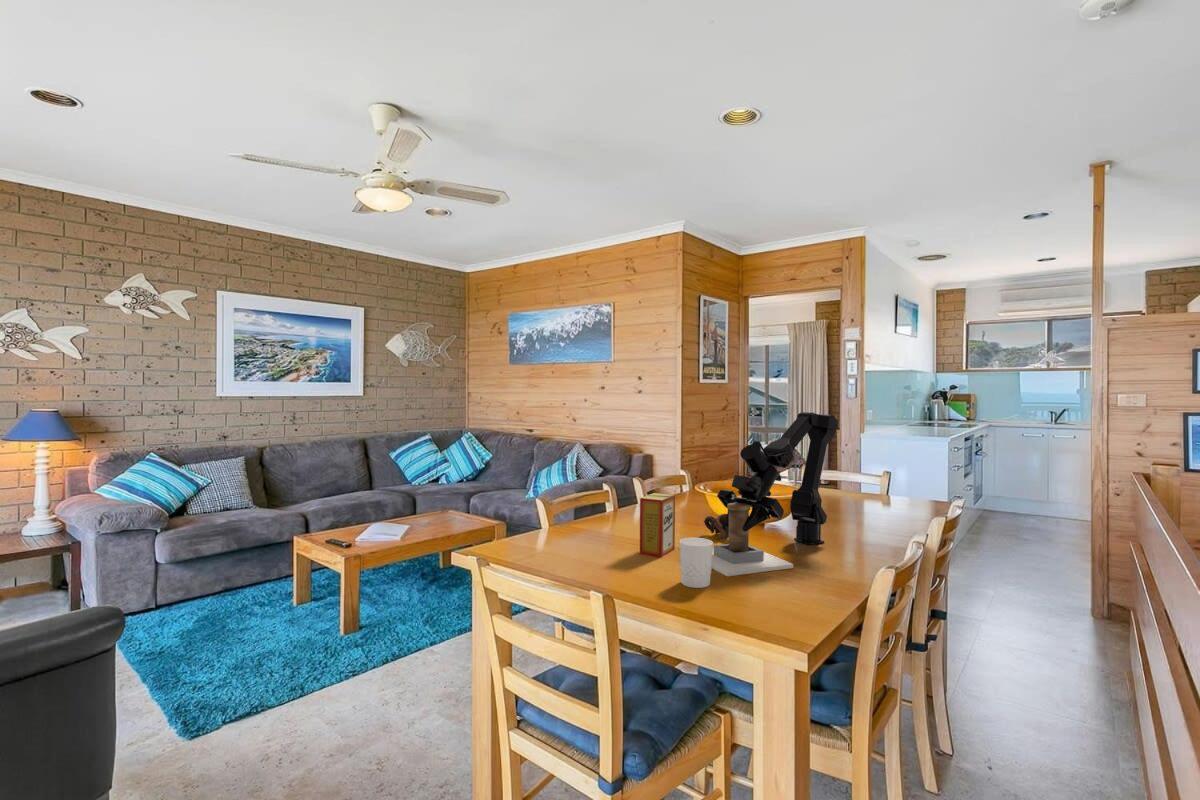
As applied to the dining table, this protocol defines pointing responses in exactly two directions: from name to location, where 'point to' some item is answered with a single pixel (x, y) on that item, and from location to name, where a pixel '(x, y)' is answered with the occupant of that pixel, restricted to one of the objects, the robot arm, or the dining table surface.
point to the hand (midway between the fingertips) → (735, 528)
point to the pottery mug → (718, 525)
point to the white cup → (695, 561)
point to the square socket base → (745, 561)
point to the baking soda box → (657, 524)
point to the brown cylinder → (738, 527)
